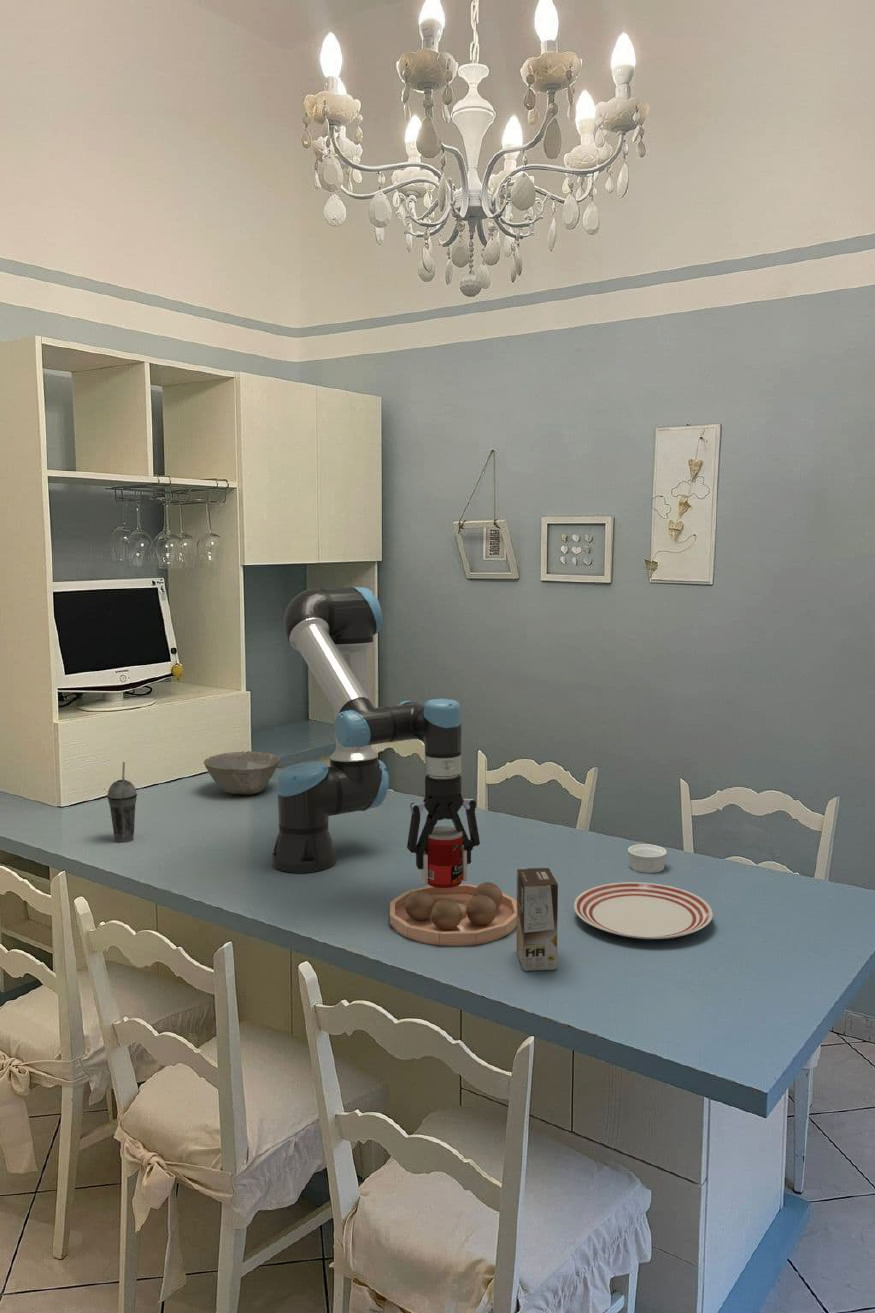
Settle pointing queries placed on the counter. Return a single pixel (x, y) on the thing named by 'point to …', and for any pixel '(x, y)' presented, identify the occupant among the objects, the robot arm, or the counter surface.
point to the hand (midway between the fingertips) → (443, 881)
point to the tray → (466, 929)
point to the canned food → (445, 857)
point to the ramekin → (647, 858)
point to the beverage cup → (122, 808)
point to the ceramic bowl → (242, 771)
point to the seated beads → (455, 907)
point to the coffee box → (537, 919)
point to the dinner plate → (643, 910)
